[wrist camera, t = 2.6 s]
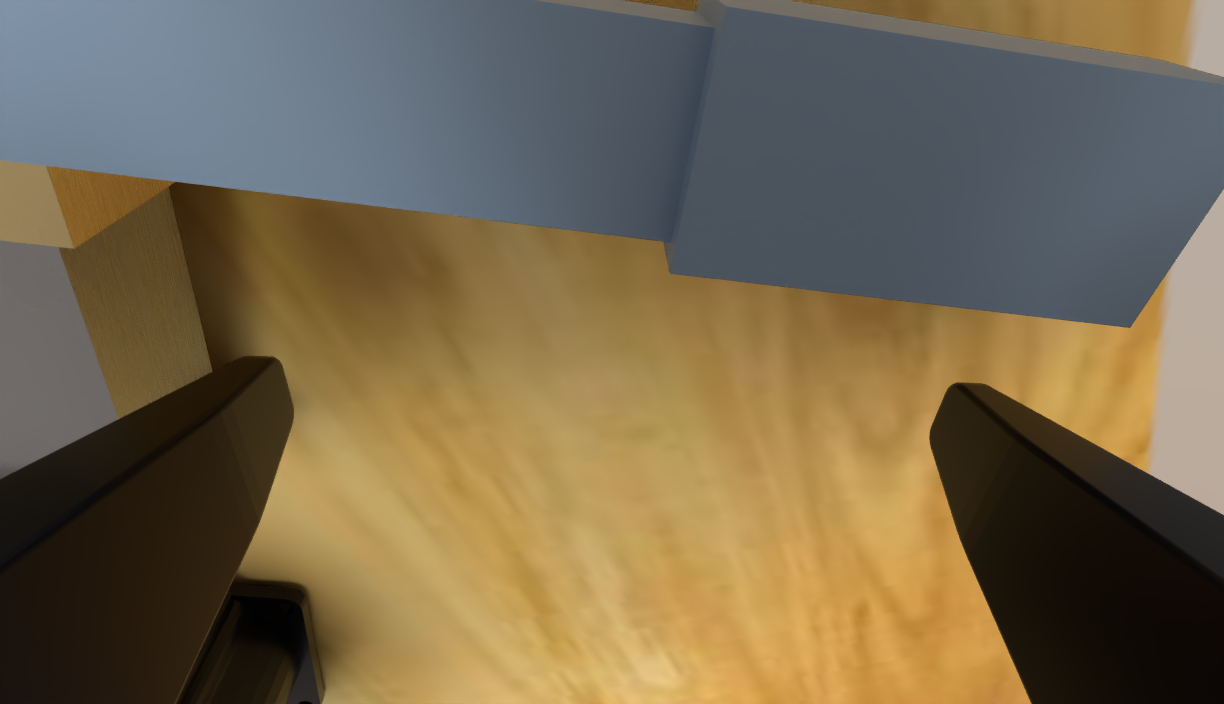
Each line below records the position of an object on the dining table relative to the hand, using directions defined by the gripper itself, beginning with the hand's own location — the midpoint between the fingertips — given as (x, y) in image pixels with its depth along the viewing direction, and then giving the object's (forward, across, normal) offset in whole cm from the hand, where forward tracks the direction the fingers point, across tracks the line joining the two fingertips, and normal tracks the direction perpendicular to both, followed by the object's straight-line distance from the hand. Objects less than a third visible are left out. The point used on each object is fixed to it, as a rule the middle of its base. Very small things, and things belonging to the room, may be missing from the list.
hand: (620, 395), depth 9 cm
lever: (+1, +3, -4) cm, 5 cm away
